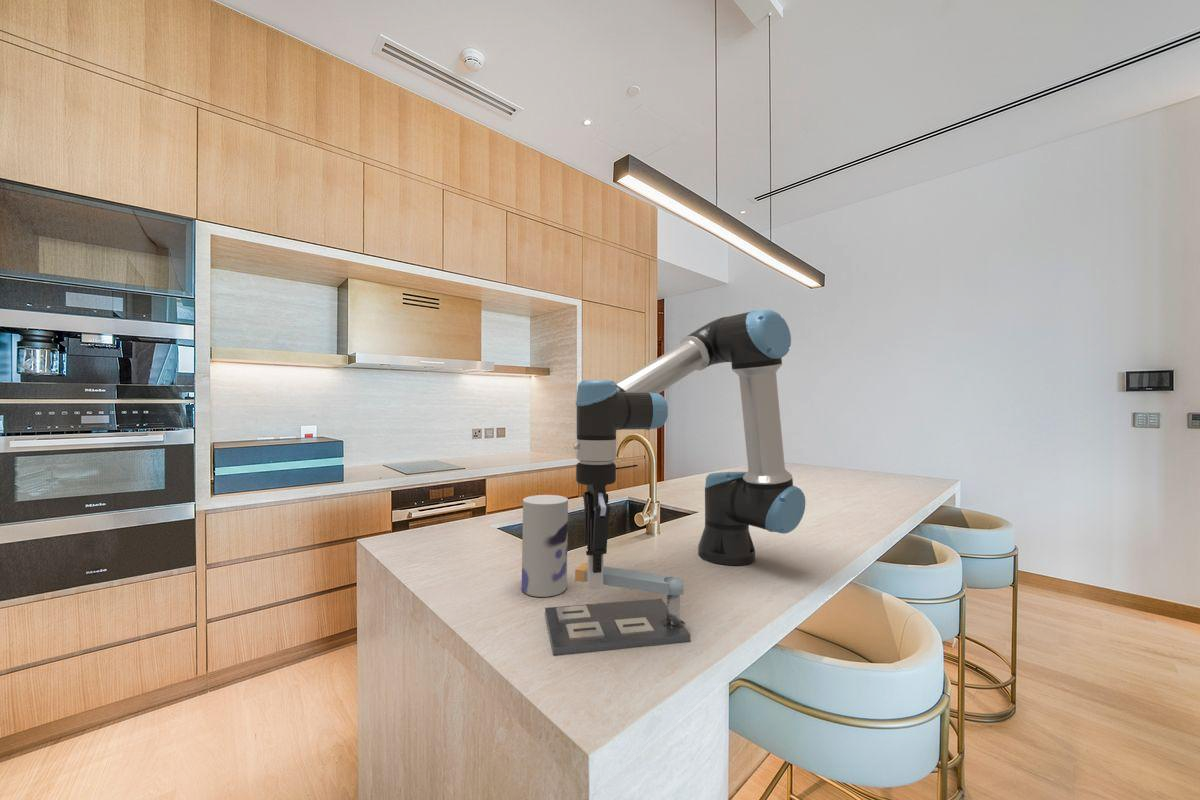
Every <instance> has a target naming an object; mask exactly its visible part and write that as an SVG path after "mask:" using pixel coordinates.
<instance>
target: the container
mask: <svg viewBox="0 0 1200 800" xmlns="http://www.w3.org/2000/svg"><path fill="white" fill-rule="evenodd" d="M568 519H569V498H568V497H567V496H562V495H556V494H539V495H538V494H537V495H529V496H526V497H524V498H523V499H522V539H521V541H522V543H521V544H522V546H521V547H522V549H521V550H522V551H521V555H522V556H521V591H522V592H523V593H524V594H526V595H528V596H531V597H532V596H533V597H536V598H537V597H539V598H546V597H553V596H558V595H560V594H562V593H563V592H565V591H566V590H567V587H568V584H567V583H568V534H569V533H568V531H569V530H568V529H569V528H568V525H569V523H568V522H569V521H568Z"/></svg>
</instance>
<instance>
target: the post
mask: <svg viewBox="0 0 1200 800" xmlns="http://www.w3.org/2000/svg"><path fill="white" fill-rule="evenodd" d="M666 605H667V618H666V623H667V624H668V628H671V627H673V626H674V628H675V627H676V626H677V627H679V624H680V622H681V623H682V624H680V625H683V626H684V627H685V628H686V622H685V621H684V620H682V619H680V617H681V615H680V613H681V595H677V596H674V595H666ZM663 621H664V620H663ZM663 621H661V623H662V622H663ZM663 625H664V626H665V624H663ZM669 625H670V627H669ZM665 627H667V626H665ZM680 627H681V626H680ZM682 628H683V627H682ZM672 629H673V628H672ZM676 629H678V628H676ZM679 629H680V628H679Z"/></svg>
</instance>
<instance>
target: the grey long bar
mask: <svg viewBox="0 0 1200 800" xmlns="http://www.w3.org/2000/svg"><path fill="white" fill-rule="evenodd" d="M574 574H575V575H574V582H580V583H588V562H582V563H581V564H580V565H579V566H577V567H576V568H575V571H574ZM684 583H685V582H684V579H682V578H680V577H676V576H674V575H673V576H672V575H667V574H660V573H652V572H646V571H640V570H632V569H624V568H618V567H612V566H605V565H603V586H608V587H609V586H610V587H616V588H623V589H629V590H634V591H638V592H639V591H640V592H645V593H646V592H648V593H653V594H660V595H664V596H667V595H674V596H677V595H680V596H681V595H683V594H684Z"/></svg>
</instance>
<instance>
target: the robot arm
mask: <svg viewBox="0 0 1200 800" xmlns="http://www.w3.org/2000/svg"><path fill="white" fill-rule="evenodd" d="M789 327H790V326H789V325H788V323H787V321H786V319H785V318H783V317H782V315H781V314H780V313H779V312H777V311H776V310H772V309H759V310H755V309H754V310H752V311H751V310H750V311H748V312H743V313H739V314H734V315H729V316H724V317H719V318H717V319H715V320H713V321H710V322H708V323H707V324H705V325H703V326H701V327H700V328H698V329H696V330H694V331H693V332H691V333H690V334H688V335H686V336H685V337H682V339H681V340H680V343H679V345H677V346H676V347H674V348H672V349H670V350H669V351H667V352H666V353H664V354H662V355H661V356H659V357H657V358H656V359H654V360H652V361H650V362H649V363H647V364H645V365H644V366H642V367H640V368H639V369H638V370H636V371H634V372H633V373H631V374H629V375H627V376H626V377H624V378H622V379H621V380H619V381H617V382H615V381H613V380H609V379H607V380H606V379H586V380H582V381H580V382H579V383H578V384H577V390H576V400H575V401H576V402H575V406H576V443H575V444H574V445H573V449H574V450H576V459H577V461H579V462H577V464H576V465H575V474H576V477H575V481H576V483H578V484H580V485H584V486H586V491H583V495H582V498H583V505H584V529H585V531H584V533H585V534H584V535H585V540H584V542H585V545H586V546H587V547H586V549H587V551H585V554H586V556H587V563H588V582H587V588H588V590H589V591H590V590H591V591H593V590H603V589H604V585H603V566H604V555H606V554H607V553H608V552H607V551H608V549H607V547H608V537H609V535H608V534H609V521H610V513H611V509H612V508H611V507H612V506H611V505H610V504H608V503H609V493H607V491H606V490H607V489H606V486H607V485H612V484H614V483H616V481H617V464H615V462H614V461H617V431H621V430H634V431H635V430H646V431H650V430H655V429H656V430H657V429H660V428H661V427H663V426H664V425H665V423H666V421H667V419H668V416H669V406H668V401H666V399H665V397H664V396H663V395H662V394H660V393H662V392H663V391H665V390H666V389H668V388H670V387H672V386H673V385H674V384H676V383H677V382H679V381H681V380H682V379H684V378H685V377H687V376H688V375H690V374H691V373H693V372H695V371H698V372H699V371H703V370H705V369H706V368H708V367H710V366H713V365H716V364H717V365H718V364H723V363H731V371H732V372H734V373H735V374H736V375H737V376H738V380H739V387H740V388H739V389H740V398H741V409H742V419H743V428H744V429H743V430H744V439H745V449H746V460H747V469H748V470H747V471H722V472H712V473H709V474H708V475H707V476H706V478H705V486H704V528H703V531H702V534H701V537H700V540H699V543H698V547H697V550H698V551H697V553H698V554H697V555H698V557H700V558H701V559H702V560H705V561H707V562H710V563H713V564H718V565H724V566H725V565H727V566H744V565H745V566H746V565H750V564H752V563H754V562H755V561H756V549H755V546H754V545H755V544H754V542H753V539H752V536H751V533H750V527H751V526H752V527H755V528H759V529H762V530H766V531H767V532H770V533H779V534H784V535H785V534H789V533H791V532H793V531H794V530H795V529H796V528H797V527H798V526H799V524H800V522H801V521H802V520H803V516H804V514H805V510H806V496H805V494H804V492H803V490H802V489H801V488H799V487H798V486H796V485H794V480H793V475H792V473H790V472H789V471H788V470H787V469H786V466H785V457H784V444H783V443H784V442H783V434H782V423H781V413H780V401H779V389H778V379H777V372H778V370H779V369H781V367H782V366H783V359H782V358H784V357H785V356H786V355H787V354H788V353H789V351H790V347H791V346H792V344H791V343H792V336H791V331H790V328H789ZM749 526H750V527H749Z"/></svg>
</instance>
